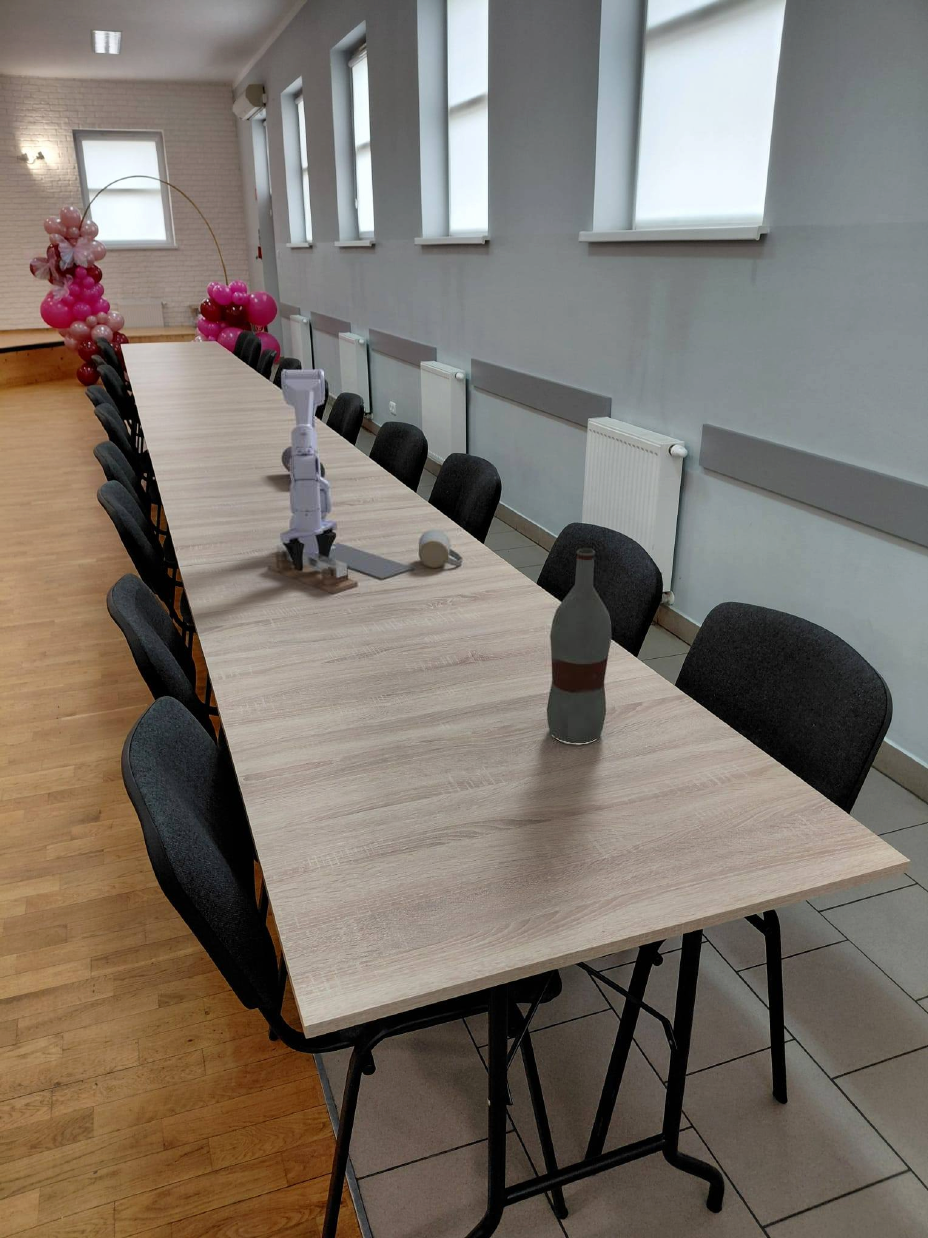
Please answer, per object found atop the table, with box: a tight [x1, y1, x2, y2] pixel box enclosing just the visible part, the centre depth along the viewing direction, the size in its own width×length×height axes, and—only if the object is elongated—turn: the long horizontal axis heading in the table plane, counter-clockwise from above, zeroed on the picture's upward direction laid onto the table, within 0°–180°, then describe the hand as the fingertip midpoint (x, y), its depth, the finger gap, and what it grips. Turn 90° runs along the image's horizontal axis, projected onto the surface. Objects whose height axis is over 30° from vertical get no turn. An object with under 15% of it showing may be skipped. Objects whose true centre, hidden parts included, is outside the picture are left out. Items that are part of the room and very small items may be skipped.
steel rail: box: [276, 543, 347, 578], centre depth 205 cm, size 22×3×2 cm, turn 47°
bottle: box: [546, 547, 613, 743], centre depth 135 cm, size 9×9×30 cm
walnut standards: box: [268, 551, 359, 595], centre depth 206 cm, size 24×7×4 cm, turn 47°
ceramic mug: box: [418, 528, 464, 569], centre depth 215 cm, size 11×8×8 cm
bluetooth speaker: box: [281, 445, 326, 479], centre depth 289 cm, size 23×9×10 cm, turn 25°
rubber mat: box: [317, 542, 415, 581], centre depth 218 cm, size 28×10×1 cm, turn 47°
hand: (311, 566), depth 206 cm, fingers open, 7 cm apart
